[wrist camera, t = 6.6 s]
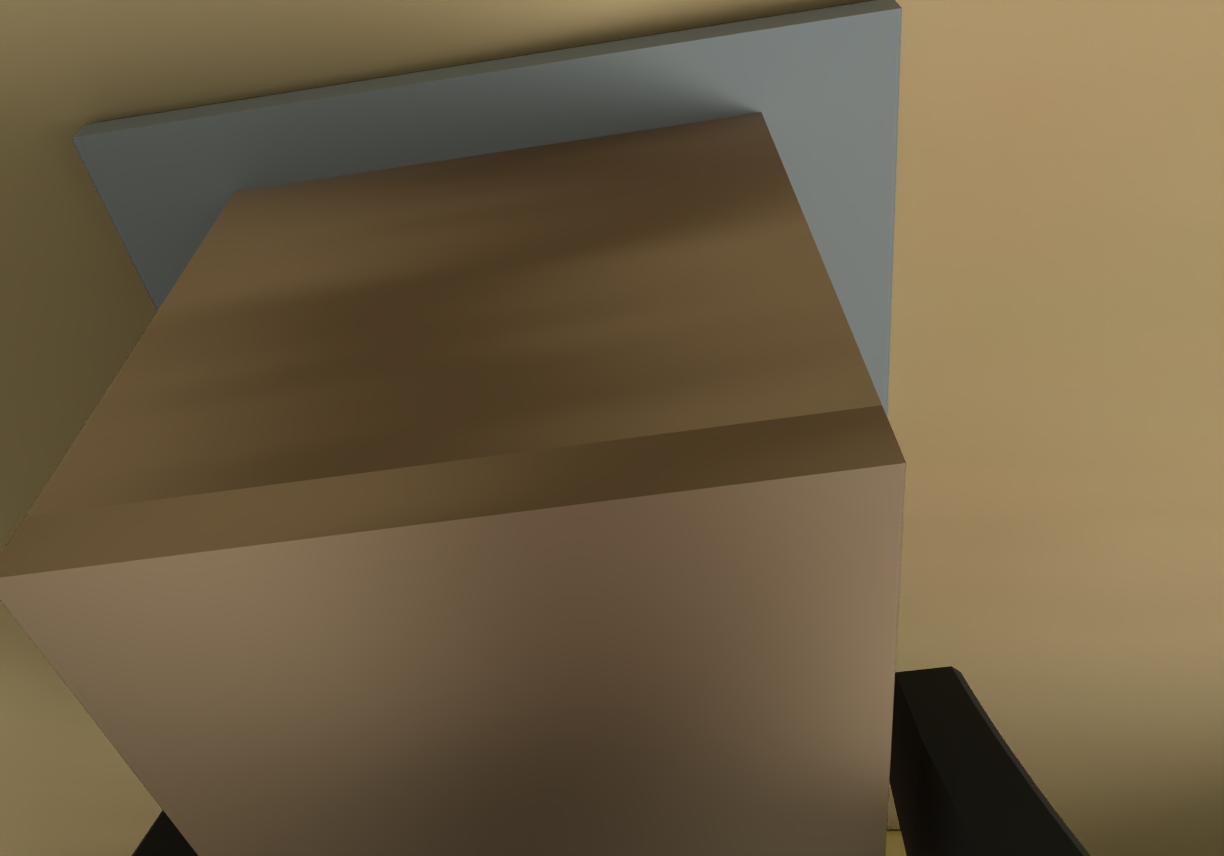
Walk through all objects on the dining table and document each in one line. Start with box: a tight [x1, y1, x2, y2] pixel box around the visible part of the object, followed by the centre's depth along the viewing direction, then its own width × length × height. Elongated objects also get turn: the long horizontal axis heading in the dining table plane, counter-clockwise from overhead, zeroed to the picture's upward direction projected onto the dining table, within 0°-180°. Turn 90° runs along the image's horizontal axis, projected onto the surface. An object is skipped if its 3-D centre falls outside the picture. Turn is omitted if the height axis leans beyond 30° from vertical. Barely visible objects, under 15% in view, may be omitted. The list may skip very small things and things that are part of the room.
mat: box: [72, 0, 902, 416], centre depth 15 cm, size 9×13×1 cm
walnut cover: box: [0, 112, 906, 856], centre depth 12 cm, size 6×10×6 cm, turn 8°
